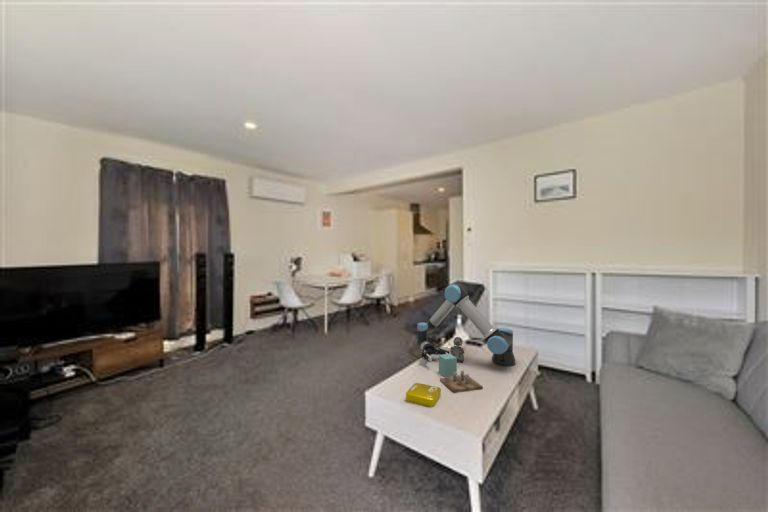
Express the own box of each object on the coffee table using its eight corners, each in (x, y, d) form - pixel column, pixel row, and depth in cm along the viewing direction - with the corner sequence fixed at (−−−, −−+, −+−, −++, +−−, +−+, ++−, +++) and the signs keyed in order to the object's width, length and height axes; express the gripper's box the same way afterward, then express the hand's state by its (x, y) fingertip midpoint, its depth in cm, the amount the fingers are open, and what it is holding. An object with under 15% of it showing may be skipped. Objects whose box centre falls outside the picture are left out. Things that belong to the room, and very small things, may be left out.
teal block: (450, 370, 201) (450, 353, 200) (456, 375, 193) (456, 358, 193) (438, 372, 199) (438, 354, 198) (444, 377, 191) (444, 359, 191)
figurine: (466, 358, 223) (466, 337, 222) (461, 363, 213) (461, 341, 212) (454, 356, 227) (454, 335, 227) (448, 361, 217) (448, 339, 217)
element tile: (415, 389, 175) (415, 381, 175) (441, 395, 168) (441, 386, 168) (404, 401, 161) (404, 392, 161) (433, 408, 155) (433, 399, 155)
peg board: (467, 377, 191) (467, 366, 190) (482, 388, 175) (482, 377, 175) (440, 380, 186) (440, 369, 186) (453, 393, 170) (453, 381, 170)
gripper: (443, 352, 228) (458, 362, 208) (411, 355, 222) (422, 366, 201) (443, 341, 228) (458, 351, 208) (411, 344, 221) (422, 354, 201)
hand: (440, 358), depth 204 cm, fingers open, 13 cm apart
